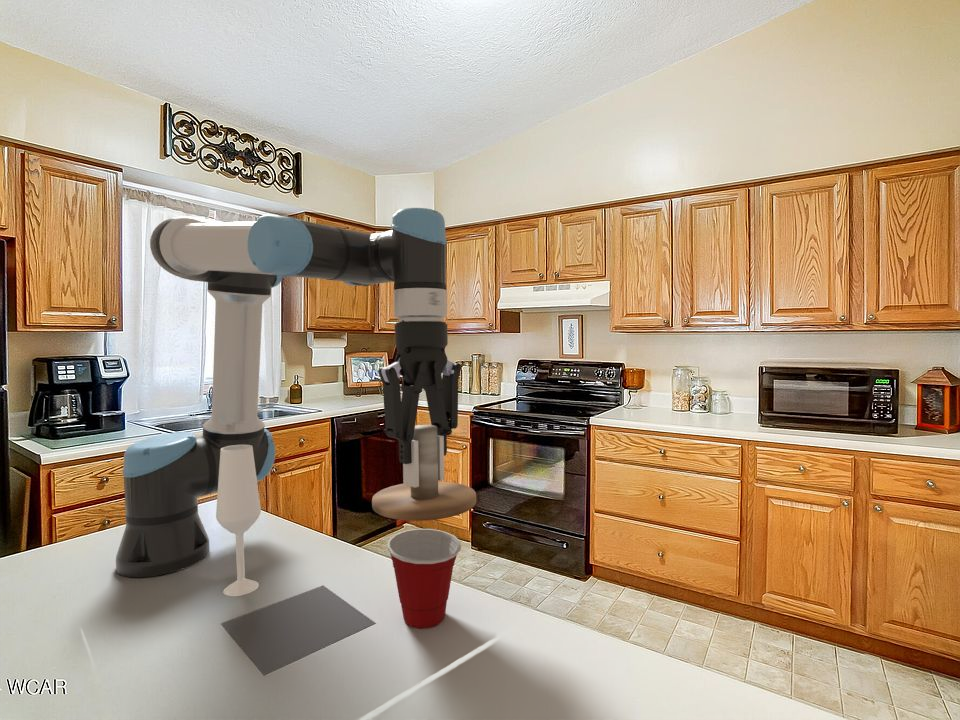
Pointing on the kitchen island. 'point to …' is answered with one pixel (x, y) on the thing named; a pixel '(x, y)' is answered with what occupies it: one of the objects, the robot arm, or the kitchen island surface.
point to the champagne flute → (238, 505)
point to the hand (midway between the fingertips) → (424, 481)
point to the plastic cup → (423, 573)
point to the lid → (425, 488)
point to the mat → (295, 628)
